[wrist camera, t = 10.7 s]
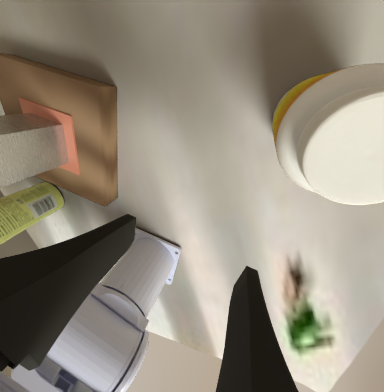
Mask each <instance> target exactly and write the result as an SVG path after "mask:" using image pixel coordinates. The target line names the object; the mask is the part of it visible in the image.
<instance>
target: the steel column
mask: <svg viewBox="0 0 384 392" xmlns="http://www.w3.org/2000/svg"><path fill="white" fill-rule="evenodd" d="M67 163H69V157H68V152H67V146H66V140H65V134H64V128H63V124H60V123H57V122H54V121H52V120H49V119H46V118H43V117H41V116H38V115H35V114H32V113H23V114H13V115H3V116H0V187H1V188H2V187H4V186H7V185H10V184H13V183H15V182H18V181H21V180H23V179H26V178H29V177H32V176H34V175H37V174H40V173H42V172H45V171H48V170H51V169H53V168H56V167H59V166H61V165H64V164H67Z"/></svg>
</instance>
